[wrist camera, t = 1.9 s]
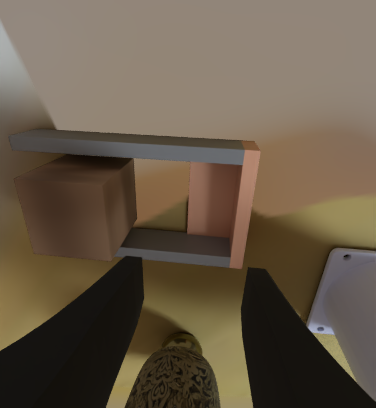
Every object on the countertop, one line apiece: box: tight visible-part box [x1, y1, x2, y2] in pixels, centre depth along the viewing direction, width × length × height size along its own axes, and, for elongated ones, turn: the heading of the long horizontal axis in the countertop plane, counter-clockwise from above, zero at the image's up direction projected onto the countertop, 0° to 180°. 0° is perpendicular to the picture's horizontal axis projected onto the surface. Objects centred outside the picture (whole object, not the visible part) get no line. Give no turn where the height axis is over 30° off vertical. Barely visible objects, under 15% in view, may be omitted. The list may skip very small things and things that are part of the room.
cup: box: [125, 333, 220, 408], centre depth 20 cm, size 8×7×8 cm
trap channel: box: [8, 129, 261, 269], centre depth 16 cm, size 14×8×2 cm, turn 88°
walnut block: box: [14, 154, 137, 261], centre depth 15 cm, size 4×4×5 cm
